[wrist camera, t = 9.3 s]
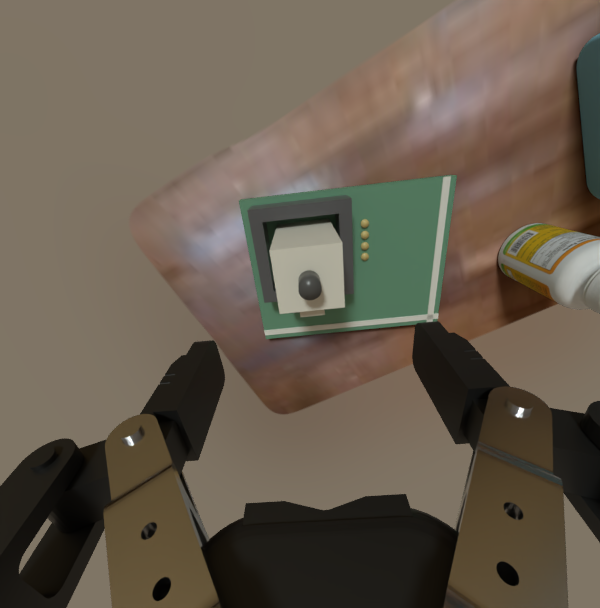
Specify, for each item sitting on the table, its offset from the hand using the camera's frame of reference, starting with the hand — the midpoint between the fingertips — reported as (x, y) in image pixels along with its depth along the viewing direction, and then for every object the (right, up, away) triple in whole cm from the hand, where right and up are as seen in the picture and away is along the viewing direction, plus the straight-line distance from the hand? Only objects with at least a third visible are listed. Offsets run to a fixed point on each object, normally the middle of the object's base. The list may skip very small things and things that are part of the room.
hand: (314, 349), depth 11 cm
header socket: (+1, +7, +14) cm, 16 cm away
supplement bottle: (+21, +7, +16) cm, 27 cm away
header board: (+4, +6, +16) cm, 17 cm away
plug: (0, +7, +14) cm, 16 cm away
